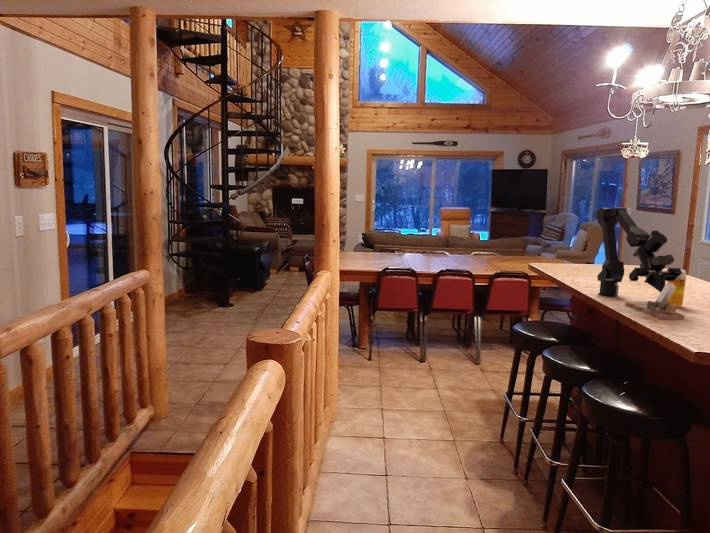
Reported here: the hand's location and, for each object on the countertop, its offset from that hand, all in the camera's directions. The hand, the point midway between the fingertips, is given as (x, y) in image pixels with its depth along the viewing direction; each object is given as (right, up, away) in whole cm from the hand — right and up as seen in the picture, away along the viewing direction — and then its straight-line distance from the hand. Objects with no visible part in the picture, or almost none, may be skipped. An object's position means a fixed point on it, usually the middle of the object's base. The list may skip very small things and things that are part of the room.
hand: (663, 292), depth 200 cm
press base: (-1, -8, +6) cm, 10 cm away
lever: (0, -5, +3) cm, 6 cm away
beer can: (+14, -6, +17) cm, 23 cm away
